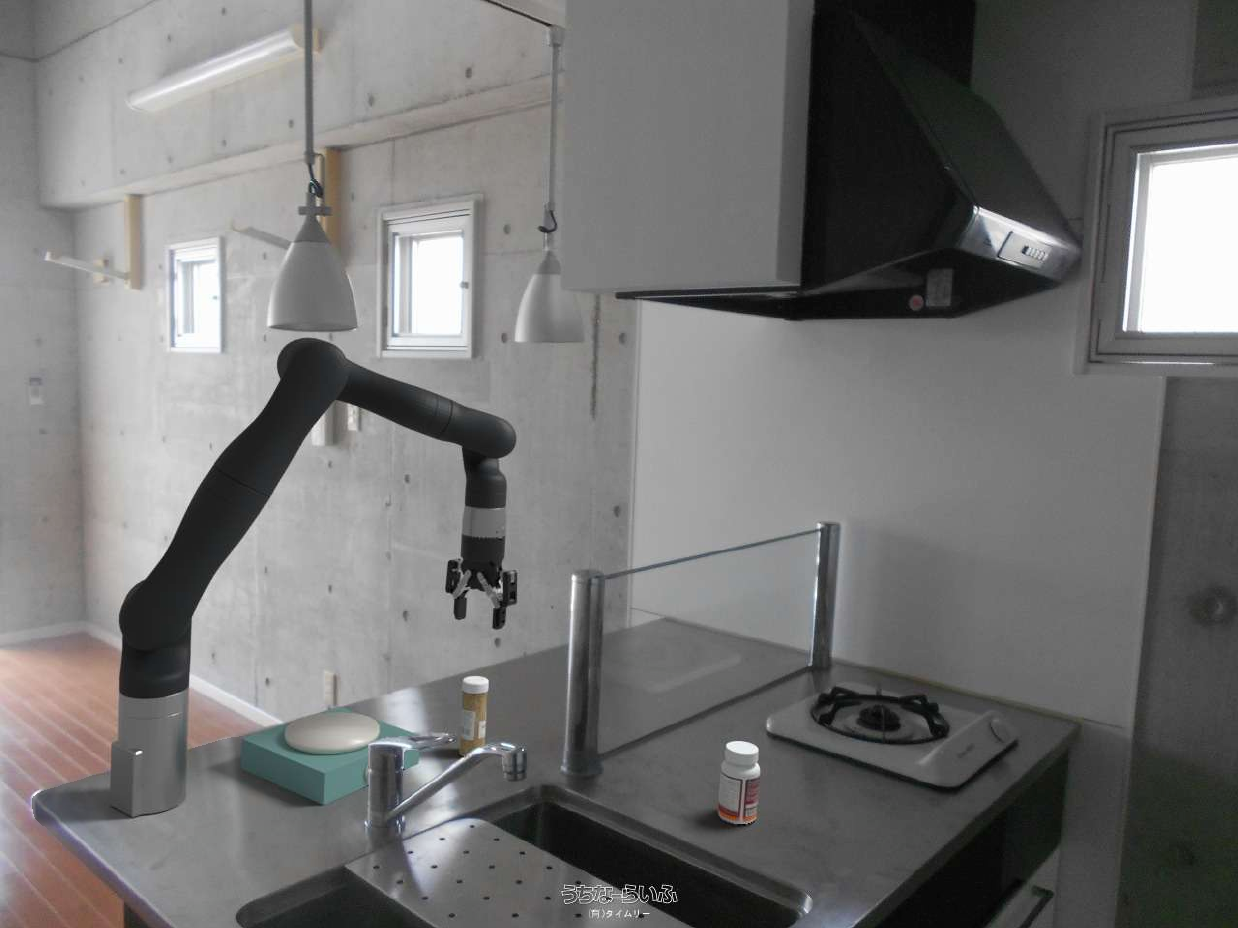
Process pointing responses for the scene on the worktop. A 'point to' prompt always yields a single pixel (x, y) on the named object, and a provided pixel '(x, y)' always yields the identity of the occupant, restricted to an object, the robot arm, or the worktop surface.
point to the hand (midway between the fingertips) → (478, 623)
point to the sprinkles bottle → (473, 713)
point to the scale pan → (331, 733)
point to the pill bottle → (739, 783)
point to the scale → (314, 763)
